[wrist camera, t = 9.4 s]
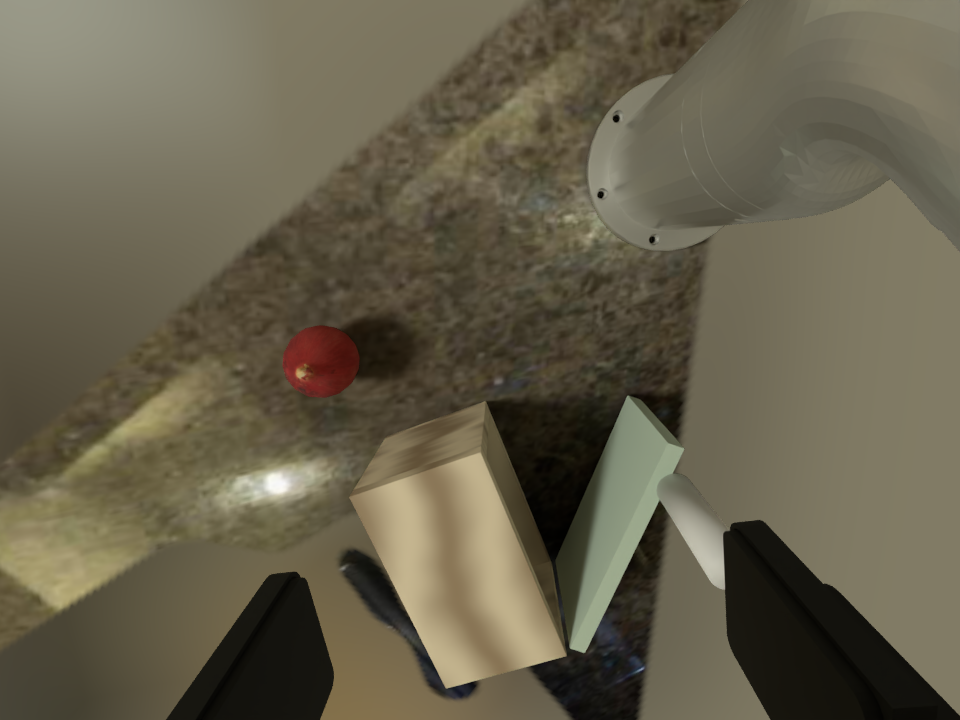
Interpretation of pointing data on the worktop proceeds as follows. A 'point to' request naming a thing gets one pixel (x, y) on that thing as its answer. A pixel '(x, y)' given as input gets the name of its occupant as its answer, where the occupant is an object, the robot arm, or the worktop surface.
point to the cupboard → (462, 547)
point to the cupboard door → (630, 518)
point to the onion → (321, 361)
